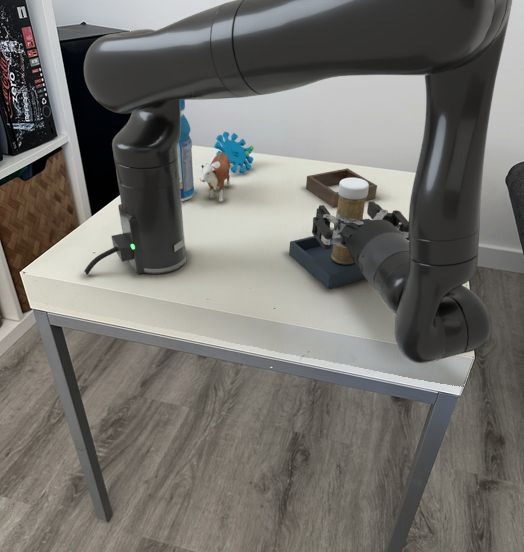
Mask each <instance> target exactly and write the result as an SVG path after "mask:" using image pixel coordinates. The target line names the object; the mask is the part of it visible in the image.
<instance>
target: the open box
mask: <svg viewBox="0 0 524 552" xmlns="http://www.w3.org/2000/svg"><path fill="white" fill-rule="evenodd" d="M345 178H359V179H363V180H365V181H367V182H368V184H369V189H368V195H367V197H366V199H365V201H369V200H370V201H371V200H373V199H376V196H377V189H378V185H377V184H375V183H374V182H372V181H370V180H368V179H367V178H365V177H363V176H361V175H360V174H358V173H357V172H355V171H353V170H352V169H349V168H343V169H337V170H332V171H326V172H321V173H316V174H310V175H306V184H305V189H306V190H307V191H308V192H310V193H311V194H313V195H315V197H317V198H319V199H320V200H322V201H323V202H325V203H326V204H328V205H329V206H330V207H332V208H337V207H338V199H339V193H338V191H335V190H333V189H332V188H330V186H334V185H339V183H340V181H341V180H342V179H345Z"/></svg>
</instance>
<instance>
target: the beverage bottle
mask: <svg viewBox="0 0 524 552" xmlns="http://www.w3.org/2000/svg"><path fill="white" fill-rule="evenodd" d="M185 109H186V100H180V113H181V135H180V139H179V142H178V146H177V154H178V166H179V179H180V191H181V202H184V201H187V200H189V199H191V198H192V197H193V196H194V194H195V186H194V170H193V169H194V167H193V151H192V149H193V140H192V138H191V136H190V133H191V126H190V123H189V120H188V118H187V117H186V115H185V114H184V113H183V112H184V111H185Z"/></svg>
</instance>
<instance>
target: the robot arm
mask: <svg viewBox="0 0 524 552" xmlns="http://www.w3.org/2000/svg"><path fill="white" fill-rule="evenodd" d="M512 5H513V0H230V1H227V2H225V3H221V4H219V5H216V6H214V7H211V8H208V9H205V10H202V11H200V12H196V13H194V14H192V15H189V16H187V17H184V18H182V19H180V20H177V21H175V22H173V23H170V24H168V25H166V26H164V27H162V28H159V29H156V30H155V29H150V28H144V29H135V30H129V31H122V32H115V33H110V34H106V35H103V36H100V37H99V38H97V39H96V40H95V41H93V42H92V44H91V45H90V46H89V48H88V50H87V51H86V54H85V58H84V62H83V76H84V81H85V84H86V86H87V89H88V90H89V92H90V94H91V95H92V97H93V98H94V99H95V100H96V102H97V103H99V105H101V106H102V107H104V108H105V109H107V110H109V111H111V112H113V113H117V114H120V115H121V114H123V115H126V114H131V115H130V117H129V119H128V121H127V123H126V124H125V125H124V126H123V127H122V128H121V129H120V131H119V132H118V133H117V134H116V135H115V136H114V137H113V139H112V142H111V146H112V154H113V160H114V165H115V171H116V172H115V173H116V178H117V179H116V180H117V185H118V191H119V198H120V204H118V213H119V218H120V219H119V220H120V225H121V232H122V233H118V234H112V235H111V241H112V248H110V249H108V250H106V251H104V252H102V253H100V254H98V255H96V257H94V258H93V259H92V260H91V261H90V262H89V263H88V265H87V266H86V267H85V269H84V273H85V274H86V275H89V274H90V273H91V272H92V270H93V268H94V267H95V266H96V264H98V263H99V262H100V261H102V260H103V259H105V258H107V257H109V256H111V255H113V254H114V253H116V254H117V256H118V258H119V259H120V261H121V262H127V261H128V263H129V264H130V266H131V267H132V269H133V270H134V271H135V273H136V274H137V275H141V274H151V275H157V274H166V273H170V272H173V271H176V270H178V269H180V268H181V267H182V266H184V265H185V263H186V262H187V251H186V242H185V230H184V217H183V206H182V201H181V191H180V179H179V166H178V154H177V146H178V142H179V139H180V135H181V113H180V100H185V101H186V100H187V101H189V100H190V101H191V100H192V101H193V100H196V101H197V100H198V101H202V100H203V101H205V100H222V99H238V98H239V99H240V98H248V97H255V96H264V95H265V96H266V95H270V94H276V93H280V92H281V93H282V92H287V91H291V90H294V89H299V88H302V87H305V86H308V85H311V84H314V83H317V82H320V81H323V80H328V79H331V78H338V77H352V76H353V77H354V76H424V83H425V117H424V118H425V119H424V129H423V136H422V141H421V147H420V150H419V151H420V152H419V156H418V161H417V166H416V170H415V174H414V180H413V183H412V189H411V194H410V199H409V209H408V219H407V218H406V217H405V216H404V215H403V213H402V212H401V211H400V210H397V209H396V210H395V209H394V210H392V212H389V210H387V209H384V208H382V207H381V206H380V204H378V203H376V202H375V201H373V200H372V201H371V200H370V201H368V203H367V208H366V209H367V210H366V214H367V215H368V217H369V218H363V220H352V219H349V218H346V217H344V216H339V217H336V215H335V216H334V215H332V214H331V213H330V211H329V210H328V208H327V207H326V206H325V205H324V204H319V205H318V208H316V212H315V213H316V214H315V216H314V217H312V229H311V234H312V236H315V238H316V239H317V240H318V242H319V243H320V244H321V245H322V247H323V248H324V249H331V246H332V244H337V243H341V245H343V246H345V247H347V248H348V251H349V254H350V256H351V258H352V260H353V261H354V262H355V264H356V265H357V267H358V268H359V269H360V271H361V272H362V274H363V275H364V276H365V278H364V279H365V280H366V281H367V282H368V284H370V286H371V287H373V289H375V290H376V291H377V293H378V294H379V296H380V297H381V299H382V300H383V301H384V302H385V304H386V305H387V307H388V308H389V309H390V310H391V311H392V312H394V313H395V314H396V315H395V319H394V337H395V342H396V345H397V347H398V349H399V351H400V353H401V354H402V355H403V357H405V358H406V359H407V360H408V361H411V362H413V363H415V364H426V363H427V364H428V363H432V362H435V361H439V360H442V359H443V360H444V359H447V358H450V357H455V356H458V355H463V354H467V353H470V352H474V351H476V350H478V349H480V348H482V347H483V346H484V345H485V344H487V342H488V341H489V339H490V337H491V335H492V329H493V324H492V323H493V322H492V317H491V314H490V312H489V310H488V308H487V305H486V304H485V302H483V300H482V299H481V298H480V297H479V296H478V295H477V294H476V292H475V293H474V292H473V291H472V289H469V288H467V287H466V286H464V285H465V284H466V283H468V282H469V281H471V280H472V279H473V278H474V276H475V275H476V273H477V270H478V263H479V249H480V248H479V247H480V227H481V206H482V189H483V178H484V177H483V175H484V163H485V155H486V145H487V136H488V131H489V130H488V129H489V123H490V115H491V109H492V102H493V98H494V91H495V84H496V80H497V77H498V76H497V75H498V70H499V67H500V62H501V57H502V53H503V48H504V43H505V39H506V35H507V29H508V27H509V26H508V25H509V20H510V16H511V10H512V7H513V6H512ZM331 223H332V224H333V227H331ZM342 224H345V227H344V228H343V230H342Z"/></svg>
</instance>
